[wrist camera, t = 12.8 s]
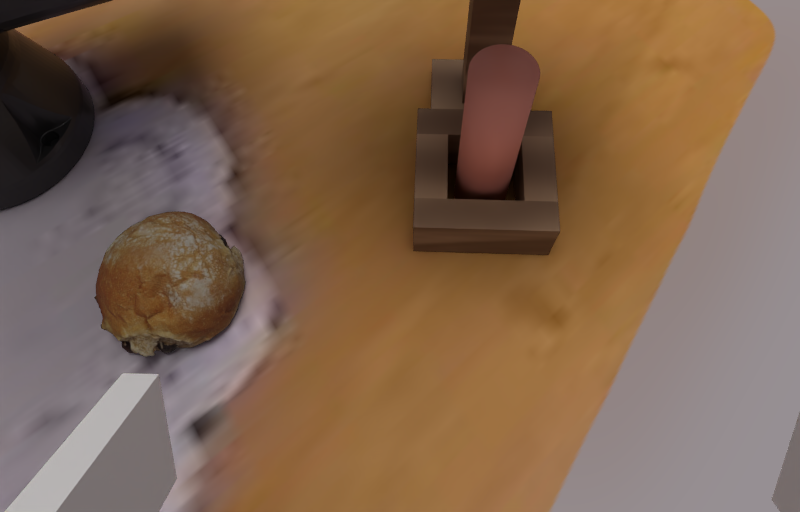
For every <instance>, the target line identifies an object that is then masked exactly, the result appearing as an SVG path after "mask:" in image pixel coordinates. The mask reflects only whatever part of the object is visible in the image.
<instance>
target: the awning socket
mask: <svg viewBox="0 0 800 512" xmlns="http://www.w3.org/2000/svg"><path fill="white" fill-rule="evenodd" d="M519 5H520V0H470V3H469V13H468V23H467V32H466V42H465V52H464V60H448V59H432V88H431V109H423V108H418V119H417V144H416V170H415V196H414V222H413V245H414V251H435V252H469V253H503V254H537V255H548V254H549V252H550V250H551V248H552V246H553V244H554V242H555V240H556V238H557V237H558V235H559V233H560V222H559V208H558V194H557V180H556V166H555V152H554V138H553V124H552V111H531V110H530V114H529V117H528V121H527V124H526V128H525V131H524V135H523V139H522V142H521V146H520V149H519V153H518V156H517V160H516V163H515V167H514V191H515V200H476V199H447V176H448V164H457V163H458V154H459V145H460V137H461V128H462V120H463V111H464V103H465V94H466V86H467V77H468V69H469V64H470V62H471V60H472V58H473V57H474V56H475V55H476V54H477V53H478V52H479V51H480V50H482V49H484V48H486V47H489V46H492V45H498V44H507V45H512V40H513V35H514V30H515V25H516V20H517V15H518V10H519Z"/></svg>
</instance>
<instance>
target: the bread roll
mask: <svg viewBox="0 0 800 512" xmlns="http://www.w3.org/2000/svg"><path fill="white" fill-rule="evenodd" d="M244 286H245V278H244V269H243V259H242V255H241V253H240V251H239V250H238V249H237V248H236V247H235V246H233V247H232V248H231V249H230V248H229V247H228V245H227V243H226V240H225V239H224V238H223V237H222V236H221V235H219V234H218V233H217V232H216V231H215V229H214V228H213V227H212V226H211V225H210V224H209V223H208V222H207V221H205V220H204V219H202V218H200V217H198V216H196V215H194V214H191V213H186V212H179V211H178V212H166V213H162V214H157V215H153V216H149V217H147V218H146V219H145V220H143V221H141V222H138V223H136V224H135V225H133V226H131V227H129V228H128V229H127V230H125V231H124V232H123V233H122V234H121V235H119V236H118V237H117V238H116V240H115V241H114V242H113V243H112V244H111V245H110V247H109V248H108V249H107V250H106V252H105V255H104V258H103V261H102V264H101V266H100V269H99V273H98V278H97V283H96V297H94V298H95V299H96V301H97V303H98V304H99V308H100V309H101V313H102V316H103V320H102V324H101V328H102V329H104V330H107V331H109V332H110V333H112V334H113V335H114V336H115V337H116V338H117V339H118V341H122V347H123V348H124V349H125V350H126V351H127V352H129V353H135V354H138V353H139V354H140V355H142V356H145V357H147V356H153V355H155V354H154V351H155V350H161V351H162V352H164V353H166V354H167V353H170V352H172V351H174V350H175V349H176V348H191V347H194V346H196V345H199V344H200V343H202V342H204V341H209V340H210V339H211V338H213V337H214V336H216V335H217V334H218V333H220V332H221V331H222V330H224V329H225V328H226V327H227V326H228V325H229V324H230V323H231V320H232V318H233V317H234V315H235V312H236V311H237V310H238V305H239V301H240V299H241V297H242V294H243V291H244ZM148 328H149V329H148Z"/></svg>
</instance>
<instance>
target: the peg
mask: <svg viewBox="0 0 800 512" xmlns="http://www.w3.org/2000/svg"><path fill="white" fill-rule="evenodd" d="M539 79H540V69H539V66H538V63H537V62H536V60H535V59H534V57H533V56H532V55H531V54H529V53H528V52H527V51H525V50H524V49H522V48H519V47H516V46H513V45H507V44H498V45H492V46H489V47H486V48H484V49H482V50H480V51H479V52H478V53H477V54H476V55H475V56H474V57H473V58H472V60H471V62H470V64H469V69H468V77H467V86H466V94H465V103H464V111H463V120H462V128H461V137H460V145H459V154H458V163H457V171H456V180H455V188H454V199H476V200H505V198H506V195H507V191H508V188H509V184H510V181H511V177H512V174H513V170H514V167H515V163H516V160H517V156H518V153H519V149H520V146H521V142H522V139H523V135H524V131H525V128H526V124H527V121H528V117H529V114H530V110H531V107H532V103H533V100H534V96H535V93H536V89H537V86H538V82H539Z"/></svg>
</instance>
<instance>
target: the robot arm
mask: <svg viewBox="0 0 800 512" xmlns="http://www.w3.org/2000/svg"><path fill="white" fill-rule="evenodd" d="M109 1H112V0H0V210H1V209H5V208H9V207H12V206H15V205H18V204H20V203H23V202H25V201H28V200H30V199H32V198H34V197H36V196H37V195H39V194H41V193H43V192H44V191H46V190H47V189H49V188H50V187H51V186H53V185H54V184H55V183H57V182H58V181H59V180H60V179H61V178H62V177H64V176H65V175H66V174H67V173H68V172H69V171H70V169H71V168H72V167H73V166H74V165H75V164H76V162H77V161H78V160H79V158H80V157H81V155H82V153H83V152H84V150H85V148H86V146H87V144H88V142H89V139H90V137H91V133H92V130H93V124H94V107H93V102H92V99H91V96H90V94H89V92H88V90H87V88H86V87H85V85H84V84H83V83H82V82H81V80H80V79H79V78H78V76H77V75H76V74H75V73H74V71H73V70H72V69H71V68H70V67H69V66H68V65H67V64H66V63H65V62H64V61H63V60H62V59H60V58H59V57H58V56H56V55H55V54H53V53H51V52H50V51H48V50H47V49H45V48H43V47H42V46H40V45H39V44H37V43H36V42H34V41H32V40H31V39H29V38H28V37H26V36H24V35H23V34H21V33H20V32H18V31H16V30H15V28H18V27H21V26H25V25H28V24H32V23H35V22H39V21H42V20H46V19H49V18H53V17H56V16H60V15H63V14H67V13H70V12H74V11H77V10H81V9H84V8H88V7H91V6H95V5H98V4H102V3H105V2H109ZM176 479H177V477H176V471H175V465H174V459H173V454H172V448H171V442H170V436H169V430H168V425H167V419H166V413H165V407H164V401H163V396H162V390H161V384H160V378H159V374H134V373H122V374H121V376H120V377H119V378H118V379H117V380H116V381H115V383H114V384H113V385H112V386H111V387H110V388H109V390H108V391H107V392H106V393H105V394H104V395H103V397H102V398H101V399H100V400H99V401H98V403H97V404H96V405H95V406H94V407H93V408H92V410H91V411H90V412H89V413H88V414H87V415H86V417H85V418H84V419H83V420H82V421H81V422H80V424H79V425H78V426H77V427H76V428H75V429H74V431H73V432H72V433H71V434H70V435H69V437H68V438H67V439H66V440H65V441H64V442H63V444H62V445H61V446H60V447H59V448H58V449H57V451H56V452H55V453H54V454H53V455H52V456H51V458H50V459H49V460H48V461H47V462H46V464H45V465H44V466H43V467H42V468H41V469H40V471H39V472H38V473H37V474H36V475H35V476H34V478H33V479H32V480H31V481H30V482H29V483H28V485H27V486H26V487H25V488H24V489H23V491H22V492H21V493H20V494H19V495H18V496H17V498H16V499H15V500H14V501H13V502H12V503H11V505H10V506H9V507H8V508H7V509H6V510H5V512H159V510H160V509H161V507H162V505H163V503H164V501H165V499H166V497H167V496H168V494H169V492H170V490H171V488H172V486H173V484H174V483H175V481H176ZM772 501H773V502H774V504H775V505H776V506H777V508H778V509H779V511H780V512H800V413H799V416H798V419H797V422H796V425H795V428H794V432H793V435H792V438H791V441H790V444H789V447H788V450H787V453H786V457H785V460H784V463H783V466H782V469H781V472H780V475H779V478H778V482H777V485H776V488H775V491H774V494H773V497H772Z"/></svg>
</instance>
